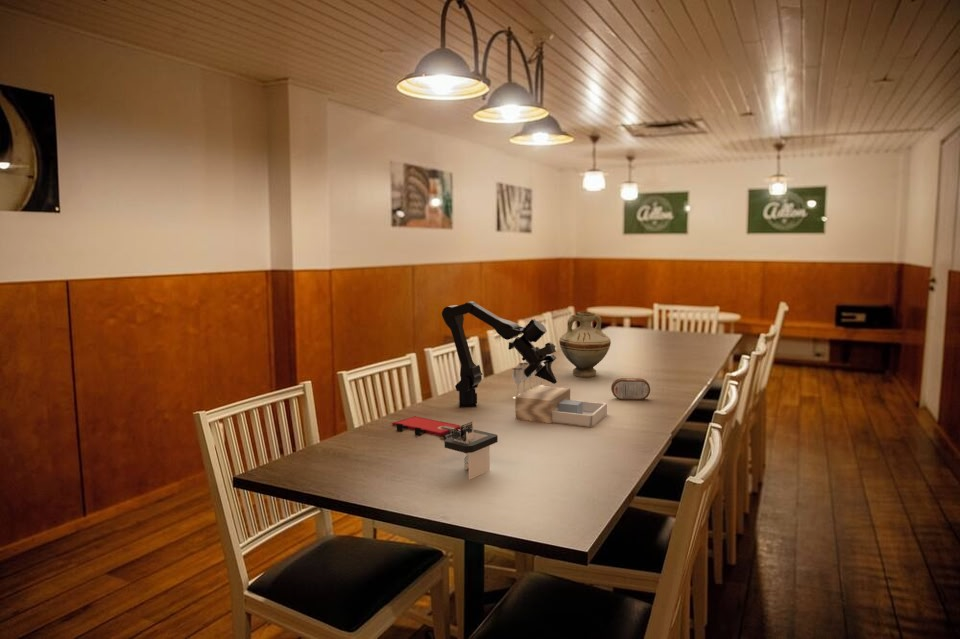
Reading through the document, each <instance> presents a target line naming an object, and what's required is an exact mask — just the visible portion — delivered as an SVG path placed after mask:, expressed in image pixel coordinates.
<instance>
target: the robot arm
mask: <svg viewBox="0 0 960 639" xmlns="http://www.w3.org/2000/svg"><path fill="white" fill-rule="evenodd" d="M466 314H467V315H468V314H470V315H472V316H473V317H476V319H478V320H480V321H482V322H483V323H485V324H487V325H488V326H490V327H492V328H493V329H494V330H495V332H496V333H497V334H498V335H499V336H500V337H501V338H503V339H504V340H509V342H508V350H510V351H511V350H513V349H515V350H516V351H517V353H519V355H520V356H521V360H522V361H525V362H526V361H527V362H528V364H529V366H528V367H527V368H526V369H525V370H524V374H525V376H526V377H527V379H529V377H530V376H531V374H532V373H533V374H534V371H535V370H536V372H537V373H536V374H534V377H535V376H537V378H540V379H541V378H542V379H543V380H544V381H547V382H549V383H551V384H554V385H555V384H556V383H558V381H557V378H556V376H555V374H554V372H553V370H552V364H553V363H554V361H555V360H556V359H557V356H556V355H554V353H556V352H557V351H556V345H555V344H554V343H552V342H551V341H549V342H547V343H545V345H544V347H539V346H534V344H533V343H537V341H539V340H540V338H542V337H543V336H544V335H545V334H546V333H547V327H545V325H544V324H542V323H541V322H540V321H539V320H536V319H535V318H532V319H531V320H530V321H529V322H528V323H527V325H525V326H523V325H522V326H520V325H519V323H517V322H514V321H511V320H509V319H505V318H503V317H500V316H498V315H497V314H494V313H493V312H491V311H489V309H487V308H484V307H483V306H481V305H479V304H478V303H476V301H468V302H465V303H463V304H460V305H457V304H454V305H449V306H445V307H444V308H443V309H442V311H441V317H442V319H443V321H444V323H445V325H446V326H447V328H449V330H450V331H451V332H450V333H451V336H452V338H453V343H454V346H455V349H456V352H457V356H458V360H459V362H460V371H459V376H460V377H459V378H460V380H459V381H458V382H457V383H456V384H455V386H454V387H455V390H456V391H457V392H458V406H459V407H460V408H467V407H477V404H478V392H476V389H477V388H478V387H479V384H480V383H481V381H482V378H483V373H482V370H481V366H480V364H476V363H475V362H474V361H473V358H472V354H471V351H470V346H469V344H468V340H467V337H466V334H465V330H464V320H465V318H464V315H466ZM520 335H521V336H520ZM519 336H520V337H519ZM514 338H515V339H514ZM512 339H514V340H513V341H510V340H512ZM533 374H532V375H533ZM459 407H458V408H459Z"/></svg>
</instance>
